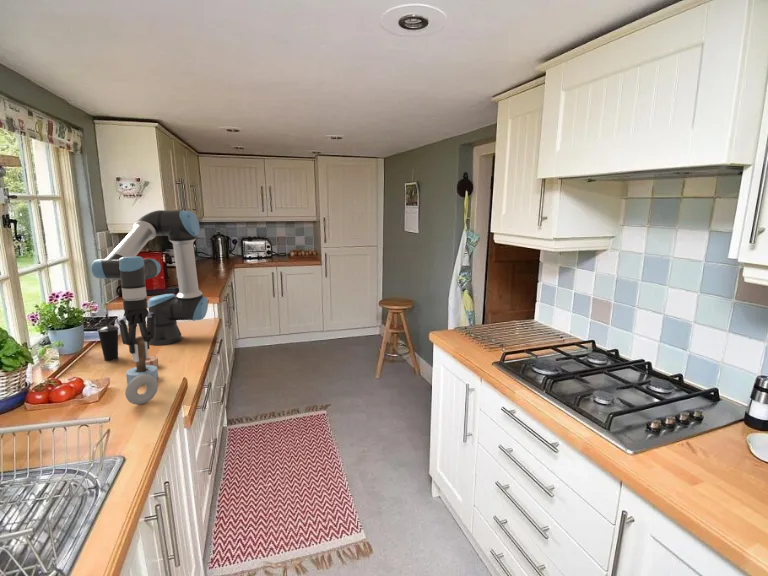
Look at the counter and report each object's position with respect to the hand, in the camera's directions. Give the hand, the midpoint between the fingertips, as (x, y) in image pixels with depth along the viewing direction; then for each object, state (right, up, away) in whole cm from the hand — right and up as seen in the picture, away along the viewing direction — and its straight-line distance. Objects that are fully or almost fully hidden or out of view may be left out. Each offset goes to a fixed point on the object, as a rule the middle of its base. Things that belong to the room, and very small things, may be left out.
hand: (140, 359), depth 150 cm
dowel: (0, -5, +1) cm, 5 cm away
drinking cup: (-27, -4, +23) cm, 36 cm away
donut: (+12, -12, -17) cm, 24 cm away
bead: (-6, -6, +14) cm, 16 cm away
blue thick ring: (0, -8, +1) cm, 8 cm away
